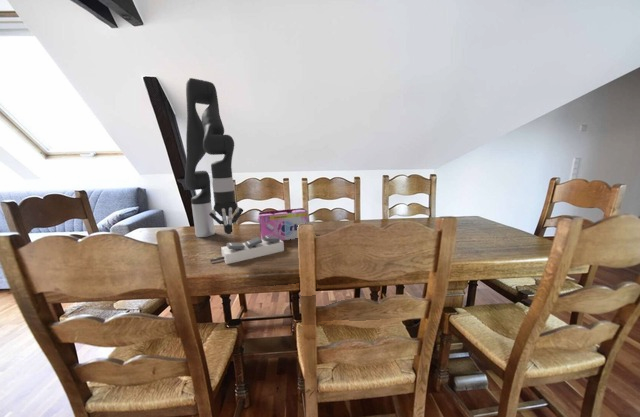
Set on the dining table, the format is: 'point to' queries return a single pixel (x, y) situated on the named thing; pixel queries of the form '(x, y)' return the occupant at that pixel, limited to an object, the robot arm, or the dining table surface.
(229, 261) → the power strip
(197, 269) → the dining table surface
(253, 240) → the rocker
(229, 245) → the rocker
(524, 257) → the dining table surface
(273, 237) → the rocker
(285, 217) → the gum box
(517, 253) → the dining table surface
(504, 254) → the dining table surface
